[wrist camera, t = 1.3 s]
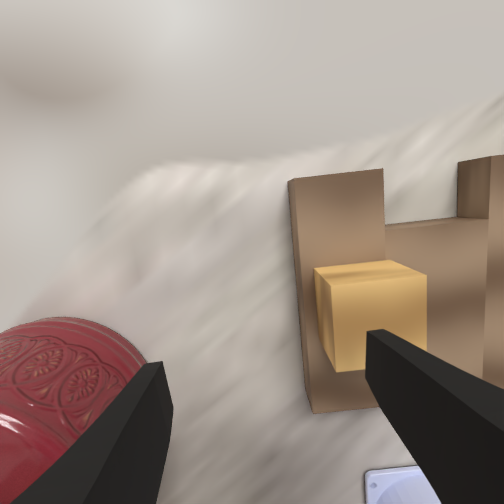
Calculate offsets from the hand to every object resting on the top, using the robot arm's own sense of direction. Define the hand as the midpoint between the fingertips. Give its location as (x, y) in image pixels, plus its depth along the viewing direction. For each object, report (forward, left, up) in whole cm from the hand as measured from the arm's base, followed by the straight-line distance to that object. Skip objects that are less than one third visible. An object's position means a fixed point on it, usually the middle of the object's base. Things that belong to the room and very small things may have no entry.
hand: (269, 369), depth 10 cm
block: (-1, -6, -7) cm, 9 cm away
